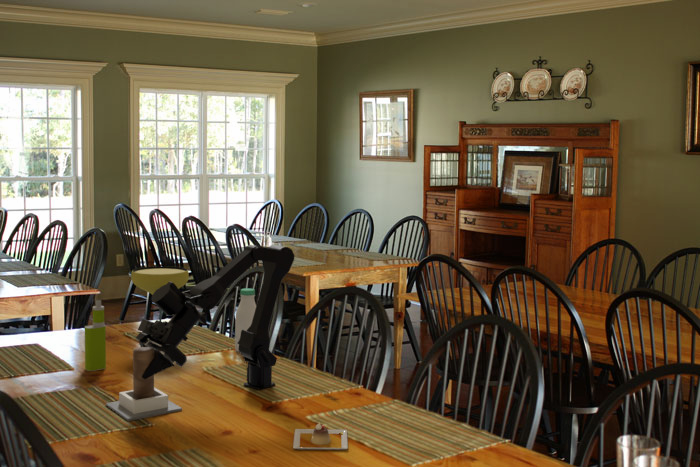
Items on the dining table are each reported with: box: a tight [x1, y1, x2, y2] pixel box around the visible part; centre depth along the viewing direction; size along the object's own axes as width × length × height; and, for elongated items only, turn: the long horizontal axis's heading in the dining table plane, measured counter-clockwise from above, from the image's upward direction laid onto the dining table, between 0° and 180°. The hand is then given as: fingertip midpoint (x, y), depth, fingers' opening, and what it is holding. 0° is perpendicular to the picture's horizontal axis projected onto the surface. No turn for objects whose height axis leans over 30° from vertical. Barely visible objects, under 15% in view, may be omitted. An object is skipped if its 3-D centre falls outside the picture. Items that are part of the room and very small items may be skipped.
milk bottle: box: [234, 288, 257, 353], centre depth 258 cm, size 8×8×20 cm
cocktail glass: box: [130, 265, 190, 322], centre depth 261 cm, size 18×18×25 cm
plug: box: [132, 347, 155, 400], centre depth 199 cm, size 5×5×13 cm
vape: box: [84, 299, 107, 372], centre depth 233 cm, size 4×6×20 cm, turn 134°
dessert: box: [292, 422, 349, 451], centre depth 180 cm, size 12×12×5 cm
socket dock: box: [105, 387, 183, 422], centre depth 200 cm, size 14×14×4 cm
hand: (138, 375), depth 198 cm, fingers closed on plug, 5 cm apart
